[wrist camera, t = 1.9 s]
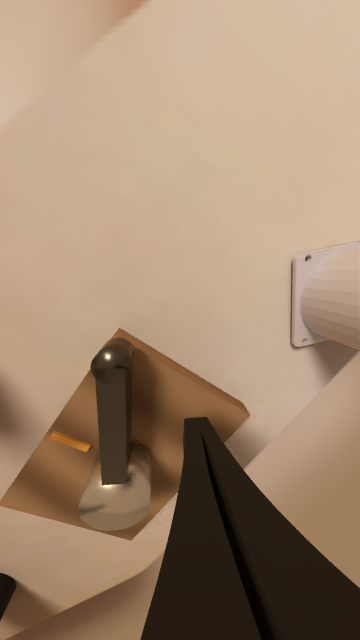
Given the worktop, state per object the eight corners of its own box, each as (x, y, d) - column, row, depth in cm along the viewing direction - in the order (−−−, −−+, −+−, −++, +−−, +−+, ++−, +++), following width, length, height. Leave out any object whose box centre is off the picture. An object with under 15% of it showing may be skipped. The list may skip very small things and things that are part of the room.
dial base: (119, 327, 13) (113, 335, 12) (242, 402, 17) (251, 417, 15) (11, 484, 17) (-5, 508, 15) (133, 521, 20) (131, 543, 18)
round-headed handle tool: (151, 481, 16) (148, 527, 13) (96, 484, 15) (80, 533, 12) (158, 333, 12) (157, 353, 9) (84, 330, 11) (58, 350, 8)
